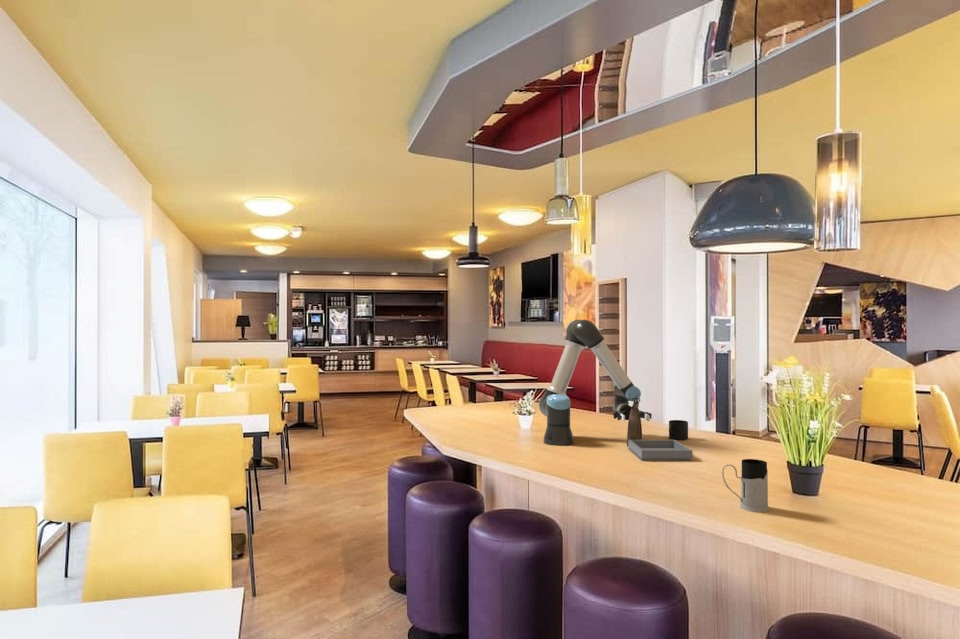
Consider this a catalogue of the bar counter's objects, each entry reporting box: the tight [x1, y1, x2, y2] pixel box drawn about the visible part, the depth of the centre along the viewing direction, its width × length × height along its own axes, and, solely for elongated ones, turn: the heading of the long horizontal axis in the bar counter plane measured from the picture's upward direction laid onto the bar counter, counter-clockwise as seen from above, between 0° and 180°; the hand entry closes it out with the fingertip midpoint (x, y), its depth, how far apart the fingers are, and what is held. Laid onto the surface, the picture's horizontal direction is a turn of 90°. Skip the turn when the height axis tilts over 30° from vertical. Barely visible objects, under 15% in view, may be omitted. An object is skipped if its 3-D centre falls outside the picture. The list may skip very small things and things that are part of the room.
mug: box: [668, 419, 689, 442], centre depth 312 cm, size 9×12×9 cm
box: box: [628, 439, 693, 462], centre depth 275 cm, size 22×24×4 cm
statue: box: [626, 395, 643, 447], centre depth 295 cm, size 9×8×25 cm
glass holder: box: [721, 458, 770, 513], centre depth 196 cm, size 9×14×15 cm, turn 80°
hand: (636, 418), depth 291 cm, fingers open, 11 cm apart
